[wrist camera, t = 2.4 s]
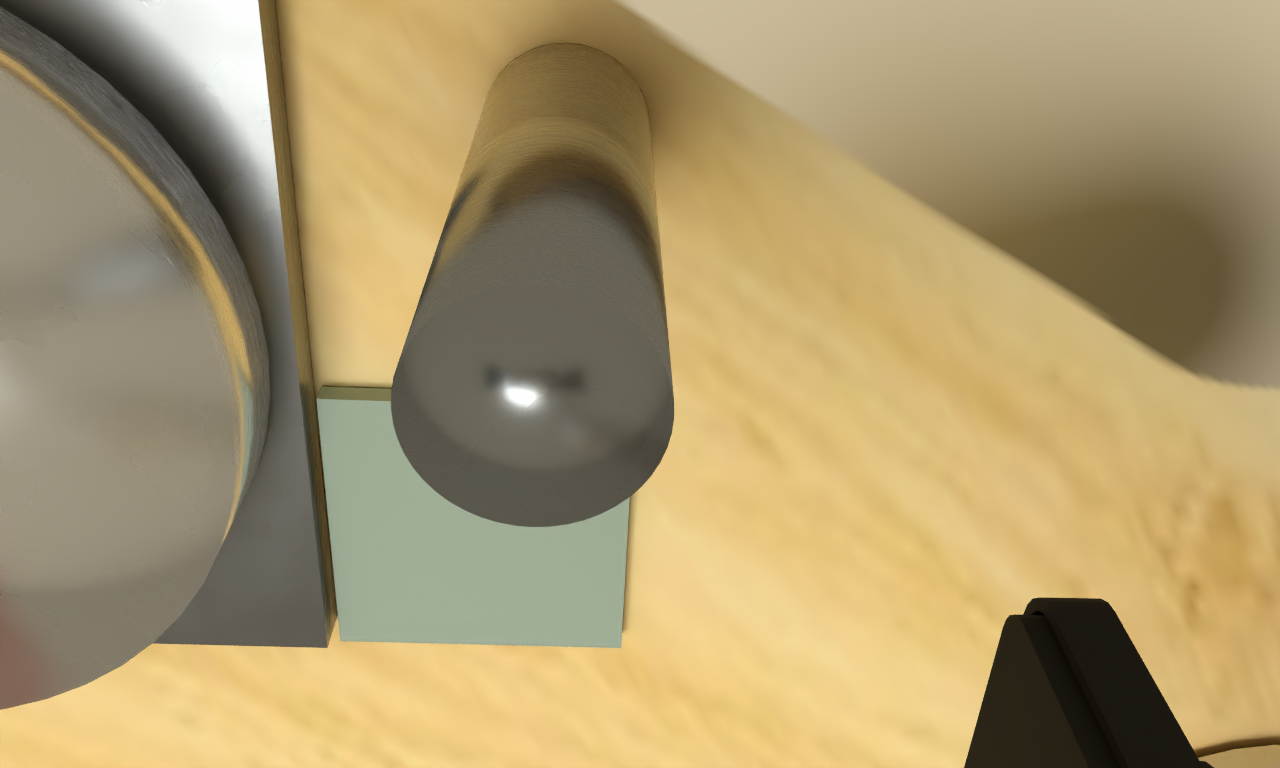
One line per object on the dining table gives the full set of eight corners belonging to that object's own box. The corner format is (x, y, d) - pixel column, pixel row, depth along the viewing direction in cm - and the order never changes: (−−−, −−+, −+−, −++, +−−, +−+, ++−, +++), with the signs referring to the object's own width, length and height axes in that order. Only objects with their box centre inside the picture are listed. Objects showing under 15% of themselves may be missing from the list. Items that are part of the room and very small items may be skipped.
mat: (634, 397, 29) (634, 409, 28) (620, 633, 32) (621, 648, 32) (321, 386, 28) (316, 399, 28) (344, 626, 32) (340, 640, 32)
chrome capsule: (653, 47, 24) (683, 290, 14) (644, 208, 26) (665, 530, 16) (481, 39, 24) (382, 278, 14) (484, 202, 26) (398, 523, 16)
